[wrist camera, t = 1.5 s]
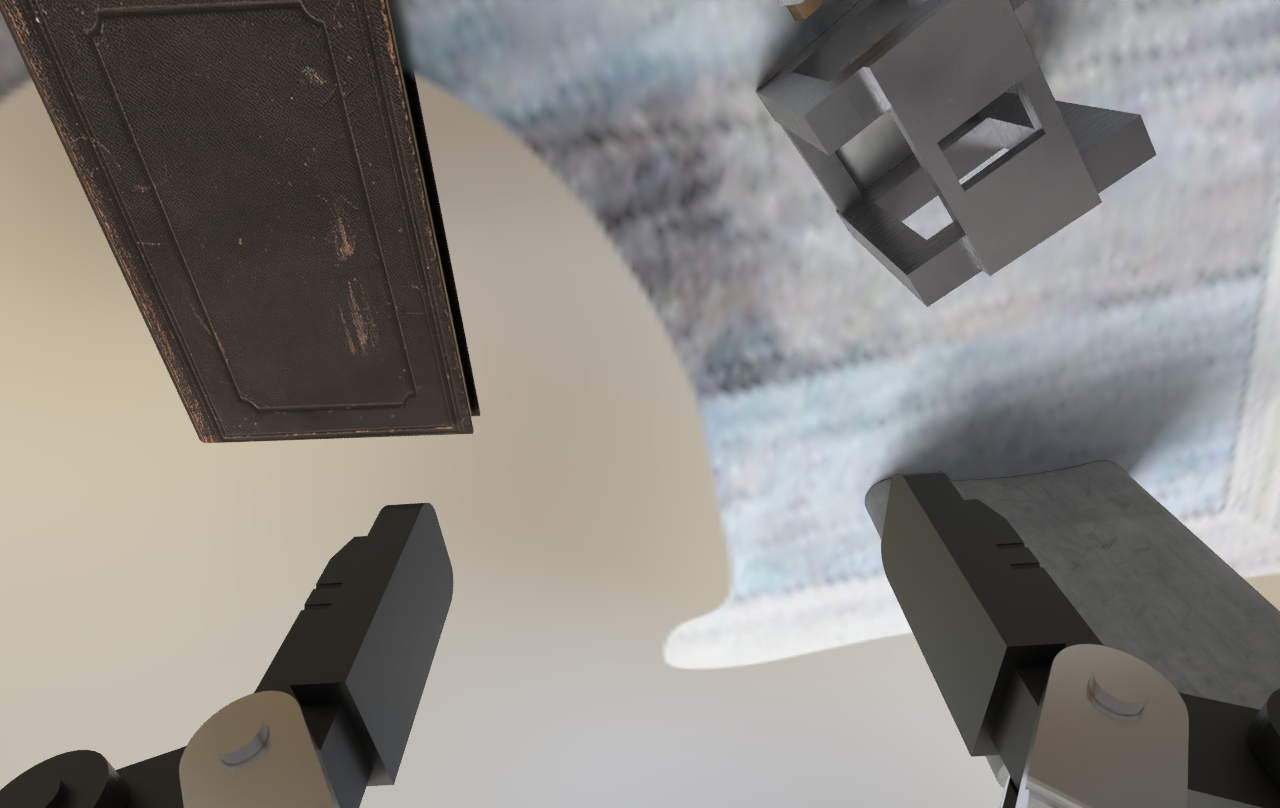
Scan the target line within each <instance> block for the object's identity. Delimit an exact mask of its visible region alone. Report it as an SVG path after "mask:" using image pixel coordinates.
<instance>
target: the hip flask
mask: <svg viewBox="0 0 1280 808" xmlns="http://www.w3.org/2000/svg"><path fill="white" fill-rule="evenodd" d="M891 481H892V479H887V480H883V481H881V482H879V483H877V484H876V485H874V486H873V487H872V488H871V489H870V490H869V491H868V493H867V495H866V497H865V506H866V509H867V511H868V513H869V515H870V517H871V519H872V521H873V523H874V525H875V527H876V529H877V532H878V534H879V536H880V538H881V540H882V534H883V528H884V522H885V515H886V509H887V503H888V497H889V490H890V485H891ZM951 482H952V484H953V485H954V486H955V488H956V489H957V491H958V492H959V493H960V495H961V496H962V498H963V499H964V500H971V499H978V500H980V501H981V502H983V503H984V504H985V505H987V506H988V507H990V508H991V509H993V510H994V511H996V512H997V513H998V514H1000V515H1001V516H1003V517H1004V518H1006V519H1007V521H1008V522H1009V523H1010V525H1011V526H1012V527H1013V528H1014V530H1015V531H1016V532H1017V534H1018V535H1019V536H1020V538H1021V539H1022V540H1023V541H1024V546H1025V547H1028V548H1029V549H1030V551H1031V552H1032V553H1033V554H1034V556H1035V557H1036V558H1037V560H1038V561H1039V562H1040V563H1039V564H1040V567H1041V568H1043V567H1044V569H1045V570H1046V571H1047V573H1048V574H1049V575H1050V576H1051V578H1052V579H1053V580H1054V582H1055V583H1056V584H1057V586H1058V587H1059V588H1060V589H1061V591H1062V592H1063V593H1064V595H1065V596H1066V597H1067V598H1068V600H1069V601H1070V602H1071V604H1072V605H1073V606H1074V608H1075V609H1076V610H1077V611H1078V613H1079V614H1080V615H1081V617H1082V618H1083V619H1084V620H1085V622H1086V623H1087V624H1088V626H1089V627H1090V628H1091V630H1092V631H1093V632H1094V633H1095V635H1096V636H1097V637H1098V639H1099V640H1100V641H1101V643H1102V644H1103V645H1104V646H1106V647H1111V648H1114V649H1117V650H1120V651H1123V652H1125V653H1127V654H1130V655H1132V656H1134V657H1136V658H1138V659H1140V660H1141V661H1143V662H1145V663H1146V664H1148V665H1149V666H1151V667H1152V668H1154V669H1155V670H1156V671H1158V672H1159V673H1160V674H1161V675H1163V676H1164V677H1165V678H1166V679H1167V680H1168V681H1169V682H1170V683H1171V684H1172V685H1173V686H1174V688H1175V689H1176V690H1177V691H1178V692H1181V693H1185V694H1189V695H1193V696H1197V697H1202V698H1207V699H1212V700H1217V701H1221V702H1226V703H1231V704H1236V705H1241V706H1245V707H1250V708H1255V709H1260V710H1261V708H1262V707H1263V705H1264V704H1265V702H1266V701H1267V700H1268V698H1269V697H1270V696H1271V694H1272V693H1273V692H1275V691H1276V690H1278V689H1280V611H1279V610H1277V609H1276V608H1275V607H1274V606H1273V605H1272V604H1271V603H1270V602H1269V601H1267V600H1266V599H1265V598H1264V597H1263V596H1262V595H1261V594H1260V593H1259V592H1258V591H1256V590H1255V589H1254V588H1253V587H1252V586H1251V585H1250V584H1249V583H1248V582H1246V581H1245V580H1244V579H1243V578H1242V577H1241V576H1240V575H1239V574H1238V573H1236V572H1235V571H1234V570H1233V569H1232V568H1231V567H1230V566H1229V565H1228V564H1227V563H1225V562H1224V561H1223V560H1222V559H1221V558H1220V557H1219V556H1218V555H1217V554H1215V553H1214V552H1213V551H1212V550H1211V549H1210V548H1209V547H1208V546H1207V545H1205V544H1204V543H1203V542H1202V541H1201V540H1200V539H1199V538H1198V537H1197V536H1196V535H1194V534H1193V533H1192V532H1191V531H1190V530H1189V529H1188V528H1187V527H1186V526H1184V525H1183V524H1182V523H1181V522H1180V521H1179V520H1178V519H1177V518H1176V517H1174V516H1173V515H1172V514H1171V513H1170V512H1169V511H1168V510H1167V509H1166V508H1165V507H1163V506H1162V505H1161V504H1160V503H1159V502H1158V501H1157V500H1156V499H1155V498H1153V497H1152V496H1151V495H1150V494H1149V493H1148V492H1147V491H1146V490H1145V489H1143V488H1142V487H1141V486H1140V485H1139V484H1138V483H1137V482H1136V481H1135V480H1133V479H1132V478H1131V477H1130V476H1129V475H1128V474H1127V473H1126V472H1125V471H1124V470H1122V469H1121V468H1120V467H1119V466H1118V465H1117V464H1115V463H1113V462H1110V461H1098V462H1093V463H1089V464H1085V465H1081V466H1076V467H1071V468H1067V469H1062V470H1056V471H1050V472H1045V473H1038V474H1031V475H1024V476H1015V477H1005V478H993V479H981V480H962V481H951ZM986 758H987V760H988V762H989V764H990V767H991V769H992V771H993V773H994V775H995V777H996V779H997V781H998V782H999V784H1000V785H1001V786H1002V787H1003V788H1005V784H1006V781H1007V779H1008V776H1009V772H1008V770H1007V768H1006V766H1005V764H1004V762H1003V761H1002V759H1001V757H1000V755H989V756H986Z"/></svg>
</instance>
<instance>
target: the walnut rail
mask: <svg viewBox="0 0 1280 808" xmlns="http://www.w3.org/2000/svg"><path fill="white" fill-rule="evenodd" d="M826 1H827V0H805V1H803V2H802V3H799V4H793V5H788V6H787V8H788V9H789V11H790V13H791V14H792V16H793V17H794V19H795V20H805V19H807V18H808V17H809V16H810V15H811V14H813V13H814V12H815V11H816V10H817V9H818V8H819V7H820V6H822V5H823V4H824V3H825V2H826Z"/></svg>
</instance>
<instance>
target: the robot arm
mask: <svg viewBox="0 0 1280 808" xmlns="http://www.w3.org/2000/svg"><path fill="white" fill-rule="evenodd" d="M881 553H882V561H883V566H884V570H885V573H886V576H887V578H888V581H889V583H890V585H891V587H892V589H893V591H894V593H895V596H896V598H897V600H898V602H899V604H900V606H901V608H902V610H903V613H904V615H905V617H906V619H907V621H908V623H909V625H910V627H911V630H912V632H913V634H914V636H915V638H916V640H917V642H918V644H919V647H920V649H921V651H922V653H923V655H924V657H925V659H926V661H927V664H928V666H929V668H930V670H931V672H932V674H933V676H934V678H935V680H936V682H937V684H938V687H939V689H940V691H941V693H942V695H943V698H944V700H945V702H946V704H947V706H948V708H949V710H950V712H951V714H952V717H953V719H954V721H955V723H956V725H957V727H958V729H959V731H960V734H961V736H962V738H963V740H964V742H965V744H966V746H967V749H968V751H969V753H970V755H971V756H989V755H1000V757H1001V759H1002V761H1003V762H1004V764H1005V766H1006V768H1007V770H1008V772H1009V776H1008V779H1007V781H1006V784H1005V788H1004V792H1003V796H1002V800H1001V804H1000V808H1280V689H1278V690H1276V691H1275V692H1273V693H1272V694H1271V696H1270V697H1269V698H1268V700H1267V701H1266V702H1265V704H1264V705H1263V707H1262V708H1261V710H1260V709H1255V708H1250V707H1245V706H1241V705H1236V704H1231V703H1226V702H1221V701H1217V700H1212V699H1207V698H1202V697H1197V696H1193V695H1189V694H1185V693H1181V692H1178V691H1177V690H1176V689H1175V688H1174V686H1173V685H1172V684H1171V683H1170V682H1169V681H1168V680H1167V679H1166V678H1165V677H1164V676H1163V675H1161V674H1160V673H1159V672H1158V671H1156V670H1155V669H1154V668H1152V667H1151V666H1149V665H1148V664H1146V663H1145V662H1143V661H1141V660H1140V659H1138V658H1136V657H1134V656H1132V655H1130V654H1127V653H1125V652H1123V651H1120V650H1117V649H1114V648H1111V647H1106V646H1104V645H1103V644H1102V643H1101V641H1100V640H1099V639H1098V637H1097V636H1096V635H1095V633H1094V632H1093V631H1092V630H1091V628H1090V627H1089V626H1088V624H1087V623H1086V622H1085V620H1084V619H1083V618H1082V617H1081V615H1080V614H1079V613H1078V611H1077V610H1076V609H1075V608H1074V606H1073V605H1072V604H1071V602H1070V601H1069V600H1068V598H1067V597H1066V596H1065V595H1064V593H1063V592H1062V591H1061V589H1060V588H1059V587H1058V586H1057V584H1056V583H1055V582H1054V580H1053V579H1052V578H1051V576H1050V575H1049V574H1048V573H1047V571H1046V570H1045V569H1044V567H1043V568H1041V567H1040V564H1039V563H1040V562H1039V561H1038V560H1037V558H1036V557H1035V556H1034V554H1033V553H1032V552H1031V551H1030V549H1029V548H1028V547H1025V546H1024V541H1023V540H1022V539H1021V538H1020V536H1019V535H1018V534H1017V532H1016V531H1015V530H1014V528H1013V527H1012V526H1011V525H1010V523H1009V522H1008V521H1007V519H1006V518H1004V517H1003V516H1001V515H1000V514H998V513H997V512H996V511H994V510H993V509H991V508H990V507H988V506H987V505H985V504H984V503H983V502H981V501H980V500H978V499H971V500H964V499H963V498H962V496H961V495H960V493H959V492H958V491H957V489H956V488H955V486H954V485H953V484H952V482H951V481H950V479H949V478H948V477H947V476H946V474H944V473H943V472H940V471H937V472H921V473H906V474H896V475H895V476H894V477H893V478H892V481H891V485H890V490H889V497H888V503H887V509H886V515H885V522H884V528H883V534H882V541H881ZM452 594H453V572H452V566H451V563H450V559H449V556H448V552H447V549H446V546H445V542H444V539H443V536H442V532H441V529H440V526H439V522H438V519H437V516H436V512H435V510H434V508H433V506H432V505H431V504H430V503H417V504H402V505H387V506H385V507H383V509H381V511H380V513H379V515H378V517H377V518H376V520H375V522H374V525H373V526H372V528H371V530H370V532H369V534H368V536H362V537H354V538H353V539H352V540H351V541H350V542H348V543H347V544H346V545H345V546H344V547H343V548H342V549H341V550H340V551H339V552H338V553H337V554H335V555H334V556H333V557H332V558H331V559H330V561H329V562H328V564H327V566H326V568H325V569H324V571H323V573H322V575H321V577H320V578H319V580H318V582H317V584H316V589H313V591H312V592H311V594H310V596H309V598H308V599H307V601H306V603H305V609H304V610H301V612H300V614H299V615H298V617H297V619H296V621H295V622H294V624H293V626H292V627H291V629H290V631H289V633H288V635H287V636H286V638H285V640H284V642H283V643H282V645H281V647H280V649H279V650H278V652H277V654H276V656H275V657H274V659H273V661H272V663H271V665H270V666H269V668H268V670H267V672H266V673H265V675H264V677H263V679H262V680H261V682H260V684H259V686H258V687H257V689H256V691H255V692H254V693H253V694H250V695H248V696H245V697H243V698H240V699H238V700H236V701H234V702H232V703H230V704H229V705H227V706H225V707H224V708H222V709H221V710H219V711H218V712H217V713H216V714H214V715H213V716H212V717H211V718H209V719H208V720H207V721H206V722H205V723H204V724H203V725H202V726H201V727H200V728H199V730H197V732H196V733H195V734H194V736H193V737H192V738H191V740H190V741H189V743H188V745H187V746H185V747H182V748H180V749H177V750H174V751H171V752H168V753H165V754H162V755H159V756H156V757H153V758H150V759H147V760H144V761H141V762H138V763H136V764H132V765H130V766H127V767H124V768H121V769H118V770H115V769H114V768H113V767H112V766H111V765H110V763H109V762H108V761H107V760H106V759H105V758H104V757H103V756H102V755H101V754H100V753H97V752H95V751H90V750H77V751H71V752H67V753H63V754H60V755H57V756H55V757H52V758H50V759H47V760H45V761H43V762H41V763H39V764H38V765H35V766H34V767H32V768H30V769H29V770H27V771H25V772H24V773H22V774H21V775H19V776H18V777H16V778H15V779H14V780H12V781H11V782H10V783H9V784H7V785H6V786H5V787H4V788H2V789H1V790H0V808H359V806H360V803H361V800H362V797H363V795H364V792H365V789H366V786H377V785H394V782H395V779H396V776H397V772H398V769H399V766H400V763H401V760H402V757H403V753H404V750H405V747H406V744H407V741H408V737H409V734H410V731H411V728H412V725H413V721H414V718H415V715H416V712H417V709H418V706H419V702H420V699H421V696H422V693H423V689H424V687H425V683H426V680H427V677H428V674H429V671H430V667H431V664H432V661H433V658H434V655H435V651H436V648H437V645H438V642H439V639H440V635H441V632H442V629H443V626H444V623H445V620H446V617H447V613H448V610H449V607H450V603H451V600H452Z"/></svg>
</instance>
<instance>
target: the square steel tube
mask: <svg viewBox="0 0 1280 808" xmlns="http://www.w3.org/2000/svg"><path fill="white" fill-rule="evenodd" d="M778 1H779V3H780V5H781V6H788V5H793V4H799V3H802V2H803V1H805V0H778Z"/></svg>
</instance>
